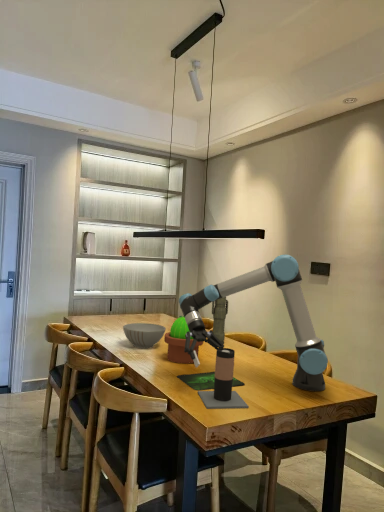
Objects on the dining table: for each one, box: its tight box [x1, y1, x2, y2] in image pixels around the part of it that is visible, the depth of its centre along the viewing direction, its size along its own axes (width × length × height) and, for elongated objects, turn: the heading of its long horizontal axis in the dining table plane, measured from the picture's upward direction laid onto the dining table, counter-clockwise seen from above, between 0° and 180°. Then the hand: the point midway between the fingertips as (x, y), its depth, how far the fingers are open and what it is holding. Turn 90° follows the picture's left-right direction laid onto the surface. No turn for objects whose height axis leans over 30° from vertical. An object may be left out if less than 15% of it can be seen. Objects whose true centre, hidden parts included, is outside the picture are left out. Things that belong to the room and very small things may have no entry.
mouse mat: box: [176, 371, 245, 392], centre depth 184 cm, size 27×22×1 cm
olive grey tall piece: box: [211, 296, 229, 345], centre depth 266 cm, size 9×12×35 cm
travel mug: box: [213, 347, 236, 401], centre depth 160 cm, size 8×8×20 cm
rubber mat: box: [197, 390, 250, 410], centre depth 160 cm, size 17×17×1 cm
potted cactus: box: [163, 315, 204, 364], centre depth 218 cm, size 22×22×25 cm
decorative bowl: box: [122, 322, 167, 349], centre depth 244 cm, size 27×27×12 cm
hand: (211, 364), depth 168 cm, fingers open, 13 cm apart
